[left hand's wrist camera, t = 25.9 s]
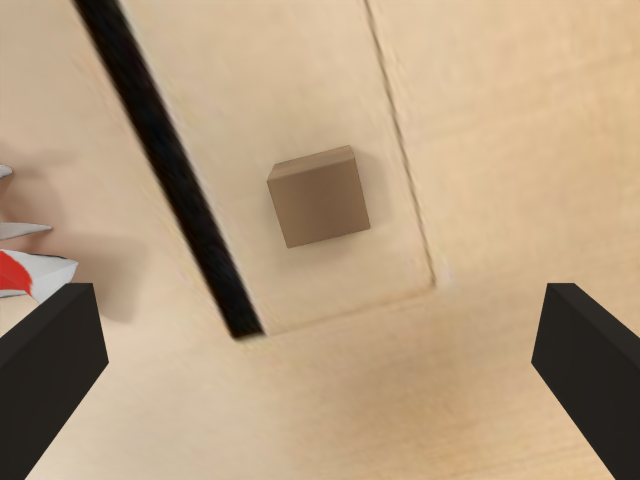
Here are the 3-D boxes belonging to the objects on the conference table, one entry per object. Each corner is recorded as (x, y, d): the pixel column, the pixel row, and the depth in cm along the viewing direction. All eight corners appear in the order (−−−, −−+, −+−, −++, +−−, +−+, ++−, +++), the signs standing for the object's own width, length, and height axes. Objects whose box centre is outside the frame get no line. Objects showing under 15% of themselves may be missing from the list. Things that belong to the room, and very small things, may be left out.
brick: (291, 224, 30) (287, 248, 25) (274, 164, 28) (266, 180, 24) (363, 206, 29) (370, 228, 25) (349, 145, 28) (354, 157, 24)
